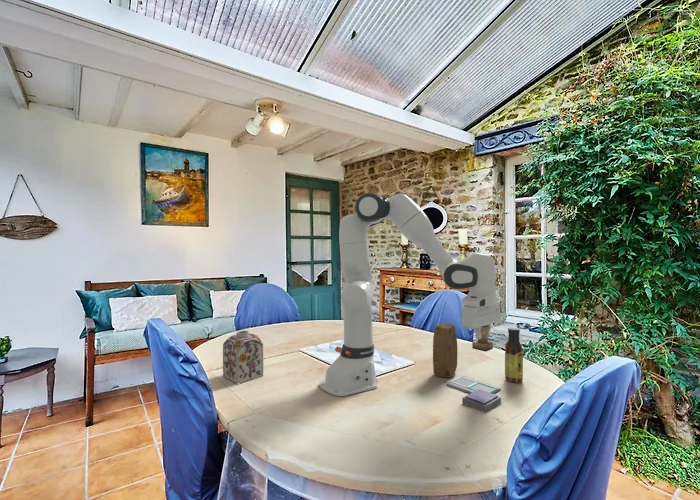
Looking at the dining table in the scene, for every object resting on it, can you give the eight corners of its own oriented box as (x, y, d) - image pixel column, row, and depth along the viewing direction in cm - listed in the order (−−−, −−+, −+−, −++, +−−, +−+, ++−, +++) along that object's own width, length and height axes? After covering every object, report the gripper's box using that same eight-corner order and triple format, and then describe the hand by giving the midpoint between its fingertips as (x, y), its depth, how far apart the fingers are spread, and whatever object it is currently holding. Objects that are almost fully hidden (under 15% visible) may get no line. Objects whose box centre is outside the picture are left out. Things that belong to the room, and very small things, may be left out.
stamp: (485, 351, 119) (485, 328, 119) (472, 348, 123) (472, 326, 123) (492, 348, 122) (492, 326, 122) (479, 345, 126) (479, 324, 126)
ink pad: (485, 412, 107) (485, 404, 107) (462, 403, 113) (462, 396, 113) (501, 402, 114) (501, 395, 114) (478, 394, 120) (478, 388, 120)
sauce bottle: (521, 385, 128) (522, 331, 128) (503, 381, 131) (503, 329, 131) (523, 379, 133) (523, 328, 133) (506, 376, 137) (506, 326, 136)
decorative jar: (222, 377, 137) (221, 331, 137) (248, 369, 145) (248, 326, 145) (237, 385, 129) (237, 337, 129) (264, 376, 137) (264, 331, 137)
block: (448, 380, 133) (448, 328, 133) (430, 375, 138) (430, 325, 138) (459, 372, 141) (459, 323, 141) (442, 367, 146) (442, 320, 146)
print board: (484, 398, 117) (484, 395, 117) (446, 385, 128) (446, 382, 128) (500, 390, 124) (500, 387, 124) (463, 377, 135) (463, 375, 135)
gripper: (489, 295, 132) (489, 331, 132) (458, 300, 118) (458, 340, 119) (505, 296, 127) (505, 334, 127) (475, 302, 114) (475, 344, 114)
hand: (482, 337), depth 123 cm, fingers closed on stamp, 3 cm apart
